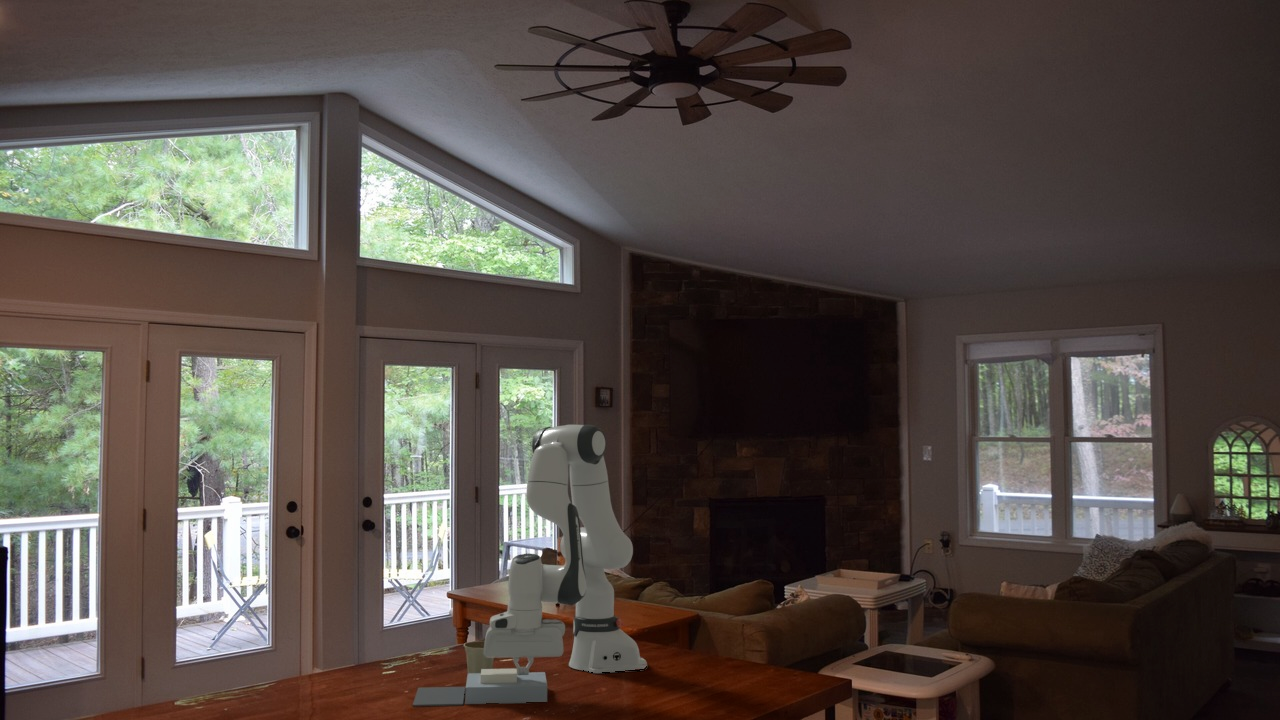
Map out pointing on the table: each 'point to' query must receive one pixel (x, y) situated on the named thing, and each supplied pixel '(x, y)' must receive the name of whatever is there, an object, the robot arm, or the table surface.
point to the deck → (507, 689)
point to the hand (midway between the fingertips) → (522, 674)
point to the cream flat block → (498, 675)
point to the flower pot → (477, 657)
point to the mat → (439, 696)
